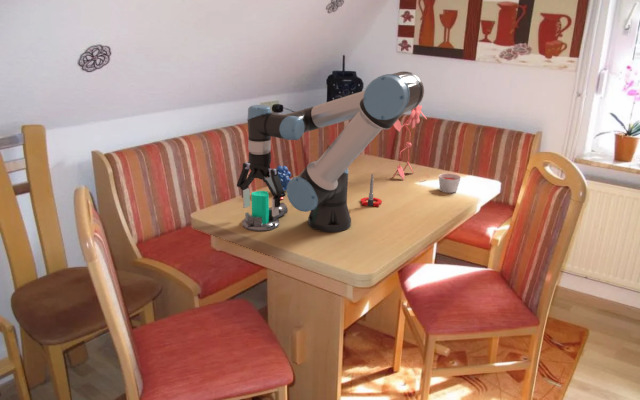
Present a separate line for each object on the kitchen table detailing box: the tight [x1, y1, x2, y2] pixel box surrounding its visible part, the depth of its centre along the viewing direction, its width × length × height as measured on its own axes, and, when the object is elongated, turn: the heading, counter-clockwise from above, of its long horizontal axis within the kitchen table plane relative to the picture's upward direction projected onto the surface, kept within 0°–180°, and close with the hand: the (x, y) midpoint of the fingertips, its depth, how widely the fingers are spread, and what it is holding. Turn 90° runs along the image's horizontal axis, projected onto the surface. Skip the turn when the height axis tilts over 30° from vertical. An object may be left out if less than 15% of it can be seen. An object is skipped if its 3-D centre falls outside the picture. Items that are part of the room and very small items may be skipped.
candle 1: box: [250, 190, 270, 224], centre depth 190 cm, size 6×6×12 cm
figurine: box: [386, 104, 429, 183], centre depth 243 cm, size 15×26×35 cm, turn 146°
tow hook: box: [360, 173, 383, 208], centre depth 214 cm, size 8×13×9 cm
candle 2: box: [438, 172, 461, 194], centre depth 231 cm, size 9×9×6 cm
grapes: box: [276, 165, 292, 192], centre depth 222 cm, size 12×7×12 cm, turn 145°
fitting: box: [241, 196, 289, 232], centre depth 193 cm, size 13×19×8 cm
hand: (260, 211), depth 191 cm, fingers open, 13 cm apart
